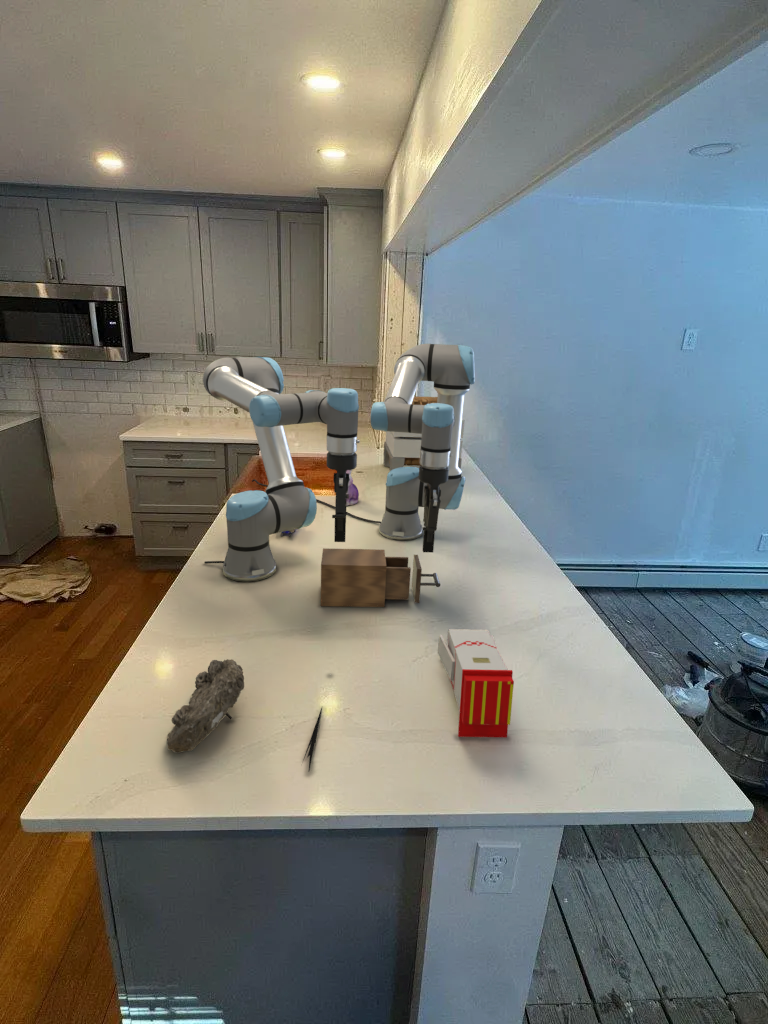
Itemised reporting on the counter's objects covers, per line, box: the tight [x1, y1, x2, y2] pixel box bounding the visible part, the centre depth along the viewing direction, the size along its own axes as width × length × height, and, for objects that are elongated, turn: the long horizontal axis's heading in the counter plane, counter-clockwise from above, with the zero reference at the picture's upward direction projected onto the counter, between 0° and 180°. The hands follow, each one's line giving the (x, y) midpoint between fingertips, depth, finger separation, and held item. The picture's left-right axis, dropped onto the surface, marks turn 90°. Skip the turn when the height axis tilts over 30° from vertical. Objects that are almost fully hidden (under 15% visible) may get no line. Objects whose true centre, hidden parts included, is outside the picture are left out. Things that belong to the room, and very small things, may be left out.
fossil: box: [166, 658, 245, 754], centre depth 106 cm, size 22×10×15 cm
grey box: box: [383, 395, 465, 472], centre depth 268 cm, size 34×33×41 cm
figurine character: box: [280, 529, 296, 538], centre depth 196 cm, size 7×8×15 cm
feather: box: [301, 673, 332, 771], centre depth 108 cm, size 2×28×2 cm
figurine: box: [346, 470, 360, 506], centre depth 227 cm, size 9×10×15 cm
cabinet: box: [320, 548, 386, 608], centre depth 153 cm, size 17×10×12 cm, turn 93°
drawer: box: [385, 554, 441, 604], centre depth 154 cm, size 21×9×10 cm, turn 93°
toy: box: [437, 628, 515, 738], centre depth 117 cm, size 12×13×30 cm
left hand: (340, 531), depth 148 cm, fingers open, 13 cm apart
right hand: (427, 551), depth 151 cm, fingers closed
